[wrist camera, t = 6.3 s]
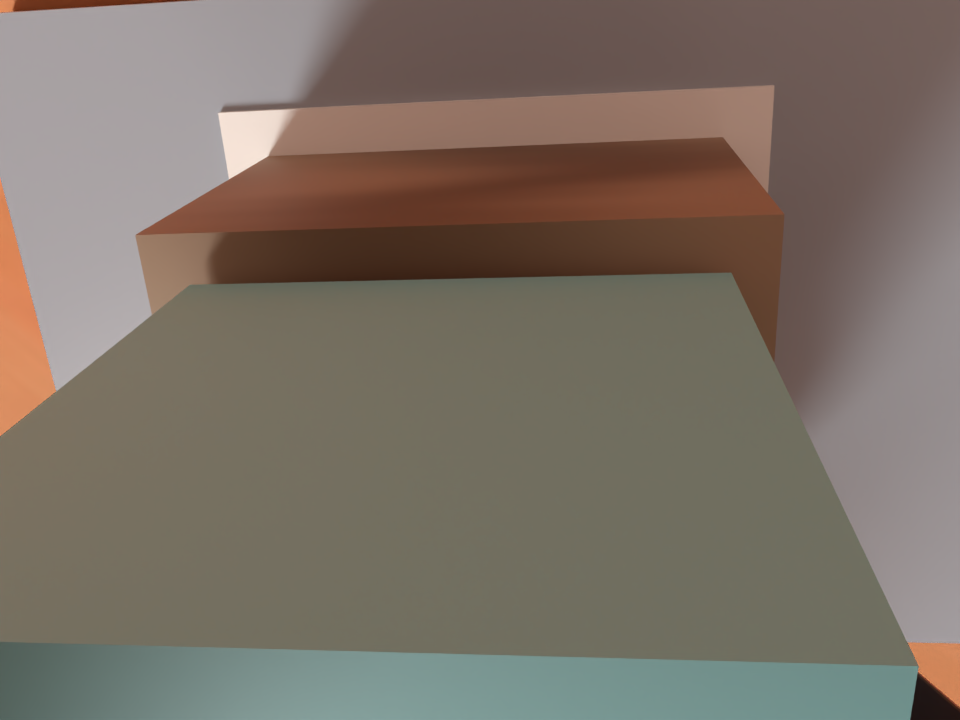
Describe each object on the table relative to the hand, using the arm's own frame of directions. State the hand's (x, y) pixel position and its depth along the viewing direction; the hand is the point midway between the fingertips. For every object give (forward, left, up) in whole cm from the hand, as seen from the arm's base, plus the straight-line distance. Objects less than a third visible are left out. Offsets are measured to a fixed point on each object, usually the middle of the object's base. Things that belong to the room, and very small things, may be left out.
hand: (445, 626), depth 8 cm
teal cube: (0, 0, -2) cm, 2 cm away
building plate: (0, 0, -7) cm, 7 cm away
